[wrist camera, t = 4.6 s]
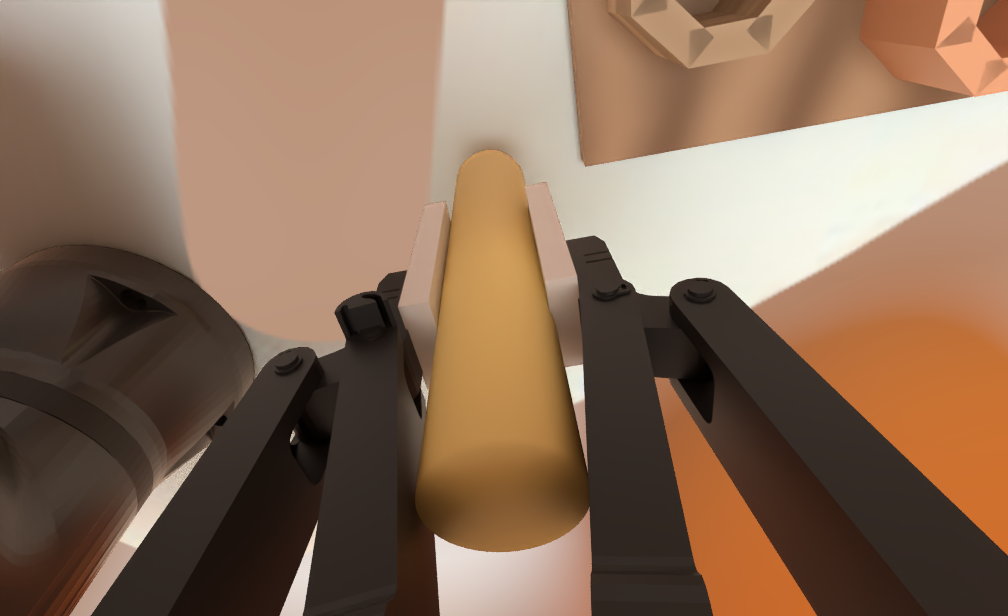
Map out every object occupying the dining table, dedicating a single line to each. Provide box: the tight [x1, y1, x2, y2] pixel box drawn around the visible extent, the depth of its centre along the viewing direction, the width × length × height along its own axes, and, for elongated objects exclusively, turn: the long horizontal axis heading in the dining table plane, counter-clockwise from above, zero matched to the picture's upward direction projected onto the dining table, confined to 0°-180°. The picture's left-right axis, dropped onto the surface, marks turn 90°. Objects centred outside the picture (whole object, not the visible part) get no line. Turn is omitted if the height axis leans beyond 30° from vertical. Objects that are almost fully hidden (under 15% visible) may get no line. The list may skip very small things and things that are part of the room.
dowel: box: [415, 150, 589, 552], centre depth 15 cm, size 3×3×16 cm
